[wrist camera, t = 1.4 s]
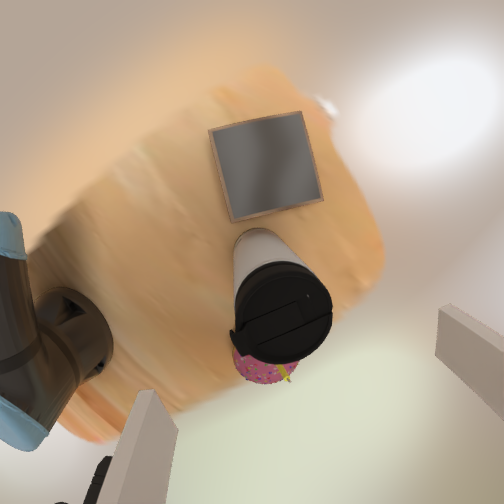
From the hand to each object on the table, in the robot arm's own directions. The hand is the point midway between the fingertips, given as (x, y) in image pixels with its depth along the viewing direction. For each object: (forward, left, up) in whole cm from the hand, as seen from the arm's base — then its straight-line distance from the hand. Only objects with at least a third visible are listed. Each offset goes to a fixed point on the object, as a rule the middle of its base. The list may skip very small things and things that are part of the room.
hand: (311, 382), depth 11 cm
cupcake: (-2, -12, -25) cm, 28 cm away
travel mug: (0, 0, -25) cm, 25 cm away
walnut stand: (+3, +10, -25) cm, 27 cm away
